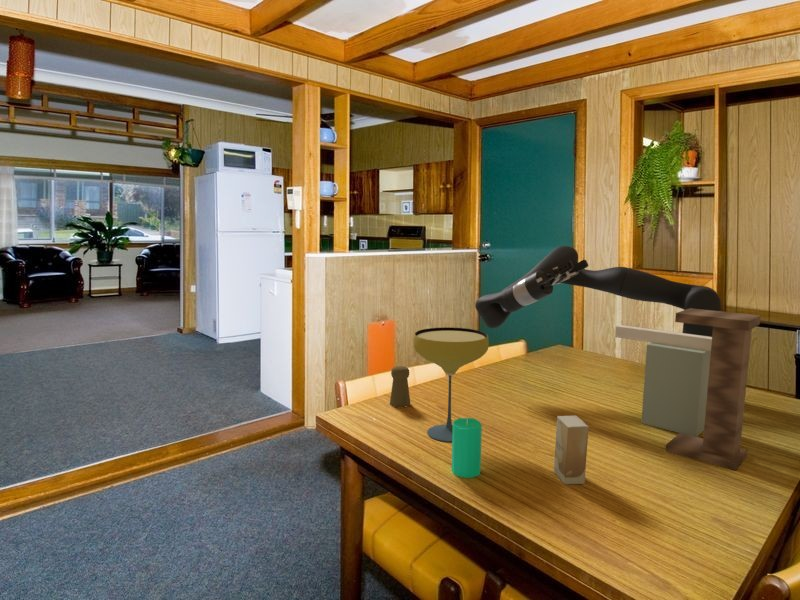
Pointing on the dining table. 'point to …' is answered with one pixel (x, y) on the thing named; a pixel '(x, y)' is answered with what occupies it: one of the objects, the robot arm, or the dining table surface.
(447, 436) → the cocktail glass
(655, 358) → the pale grey-green block
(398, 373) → the pepper mill
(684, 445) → the walnut stand
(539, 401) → the dining table surface
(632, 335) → the cream bar
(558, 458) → the skincare box
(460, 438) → the candle
